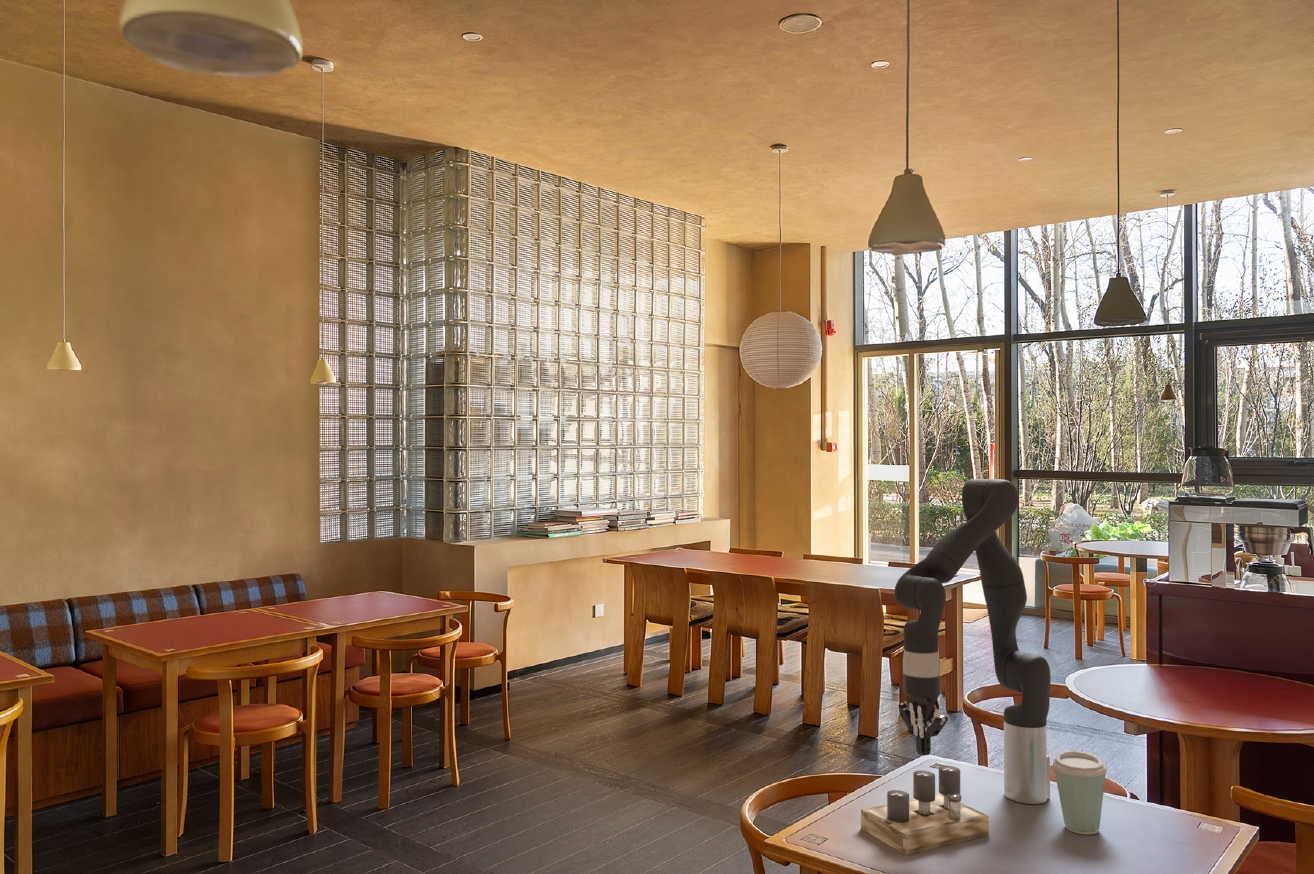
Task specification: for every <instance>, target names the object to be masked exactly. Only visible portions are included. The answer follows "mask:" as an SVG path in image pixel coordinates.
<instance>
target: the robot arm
mask: <svg viewBox="0 0 1314 874" xmlns="http://www.w3.org/2000/svg"><path fill="white" fill-rule="evenodd" d="M1019 498H1020V497H1019V492H1018V489H1017V487H1016V485H1014V483H1013V482H1011V481H1009V480H1007V479H1000V478H998V479H996V478H975V479H970V480H967V481H966V483H965V484H964V485H963V488H962V491H961V504H962V509H963V513H964V517H965V520H966V521H965V522H964V523H962V524H961V525H960V526H957V527H956V528H954V529H953V530H950V531H949V532H948V533H946V534H945V535H943V536H942V537H941V538H940V539H939V540H938V541H937V543H936V544H935V545H934V546H933V547H932V549H931V550H930V551H929V553H928V554H927V555H926V557H925V558H924V559H922V560H920V561H919V562H917V563H915V565H913V566H912V567H911V568H909V569H908V570H907V571H906V572H904V573H903V574H902V575H901V576H900V577H899V578H898V580H897V582H896V584H895V586H894V598H895V601H896V602H897V604H898V605H900V606H901V607H903V608H905V609H910V610H915V611H920V613H919V615H918V616H919V617H918V619H915V620H909V621H907V622H906V623H905V624H904V625H903V626H904V627H903V657H902V675H903V676H902V679H903V680H902V682H903V685H902V686H903V692H904V694H905V695H906V696H905V701H904V702H902V703H898V706H897V707H898V710H899V711H900V714H901V716H902V718H903V720H904V722H905V724H906V726H907V728H908V731H910V732H911V731H912V732H913V734H914V736H915V749H916V753H917V754H918V755H921V756H923V757H924V756H929V755H930V753H931V750H932V748H931V745H932V743H931V738H932V737H937V736H939V734H940V733H941V732H942V730H943V729H944V727H945V725H946V724H947V722H948V720H949V717H948V716H947V715H946V714H945V715H943V714H942V712H941V711H940V704H939V700H938V699H939V697H940V695H941V692H942V690H941V689H942V688H941V686H942V685H941V660H940V654H939V653H940V652H939V651H940V650H939V629H940V627H941V626H940V625H941V622H942V617H943V613H944V611H945V610H944V609H945V606H946V601H947V595H946V593H947V592H946V590H945V587H944V585H943V584H946V583H949V582H950V581H952V580H953V579H954V578H955V576H956V575H957V573H958V572H959V571H960V570H961V568H962V567H963V566H964V564H965V562H967V560H968V559H969V558H970V556H971V555H972V554H973V553H974V552H975V556H976V559H977V564H978V569H979V575H980V582H981V587H982V591H983V592H982V593H983V598H984V601H985V605H986V608H987V614H988V621H989V626H990V634H991V642H992V643H991V644H992V655H993V664H994V672H995V676H996V679H997V681H998V683H999V685H1000V686H1002V687H1003V688H1005V689H1007V690H1009V691H1014V692H1016V693H1017V692H1018V693H1021V694H1022V695H1021V703H1019V704H1013V705H1008V706H1006V707H1005V708H1004V709H1003V779H1004V781H1003V783H1004V785H1003V787H1004V790H1003V792H1004V793H1003V794H1004V796H1005V797H1006V798H1007V799H1009V800H1011V801H1014V802H1016V803H1021V804H1027V805H1041V804H1044V803H1046V802H1047V801H1048V799H1050V798H1051V762H1050V760H1051V757H1050V756H1049V755H1047V754H1048V750H1047V749H1048V747H1047V746H1048V743H1047V738H1048V737H1047V736H1048V735H1047V733H1048V732H1047V731H1048V730H1047V729H1048V728H1047V725H1048V723H1047V722H1048V721H1047V720H1048V716H1049V712H1050V697H1051V675H1052V674H1051V669H1050V664H1049V662H1048V661H1047V659H1046V658H1045V657H1043V656H1041V655H1040V654H1039V655H1038V654H1034V653H1029V652H1024V651H1021V650H1019V646H1018V641H1017V634H1016V632H1017V631H1016V629H1017V625H1018V623H1019V621H1020V618H1021V617H1022V614H1023V612H1024V610H1025V607H1026V606H1027V602H1028V601H1027V600H1028V594H1027V588H1026V585H1025V578H1024V574H1023V571H1022V567H1020V565H1019V563H1018V562H1017V560H1016V559H1015V557H1014V556H1013V555H1012V554H1011V552H1010V551H1009V550H1008V548H1007V547H1006V545H1004V544H1003V542H1002V541H1001V539H1000V538H999V535H998V533H997V530H999V528H1000V527H1002V526H1003V525H1004V524H1005V523H1006V522H1007V521H1008V520H1009V519H1011V517H1012V516H1013V515H1014V513H1015V512H1016V510H1017V508H1018V504H1019Z"/></svg>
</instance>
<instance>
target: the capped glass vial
mask: <svg viewBox="0 0 1314 874" xmlns="http://www.w3.org/2000/svg"><path fill="white" fill-rule="evenodd" d="M947 799H948V818H949V819H950V820H953V821H959V820H961V807H960V803H961V801H962V795H961V793H960V794H957V793H948V794H947Z"/></svg>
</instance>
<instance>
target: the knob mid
mask: <svg viewBox="0 0 1314 874" xmlns="http://www.w3.org/2000/svg"><path fill="white" fill-rule="evenodd" d="M912 773H913V776H912V778H913V779H912V780H913V781H912V785H913V786H912V788H913V789H912V790H913V792H912V793H913V797H912V798H913V799H916V800H918V812H919V813H920V814H923V815H929V814H930V802H932V801H935V794H936V774H935V773H934V772H932V771H928V770H915V771H914V772H912Z"/></svg>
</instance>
